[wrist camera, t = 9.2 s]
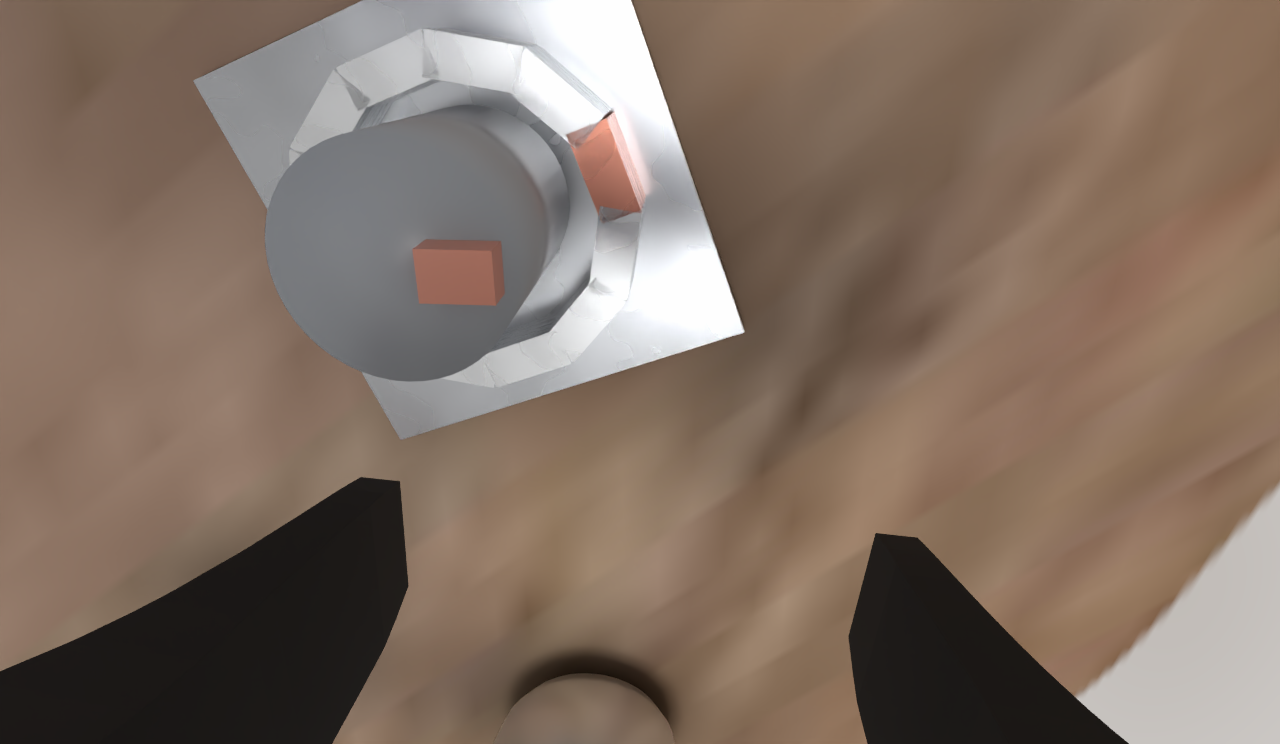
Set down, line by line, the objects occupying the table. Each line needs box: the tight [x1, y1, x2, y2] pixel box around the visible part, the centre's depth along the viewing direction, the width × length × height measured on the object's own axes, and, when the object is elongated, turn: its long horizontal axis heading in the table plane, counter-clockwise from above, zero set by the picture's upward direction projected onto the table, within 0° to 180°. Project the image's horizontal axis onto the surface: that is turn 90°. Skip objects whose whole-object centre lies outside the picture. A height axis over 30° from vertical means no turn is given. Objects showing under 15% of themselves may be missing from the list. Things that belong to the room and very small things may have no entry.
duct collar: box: [193, 0, 744, 440], centre depth 19 cm, size 11×11×2 cm
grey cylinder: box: [265, 105, 569, 382], centre depth 16 cm, size 5×5×7 cm
